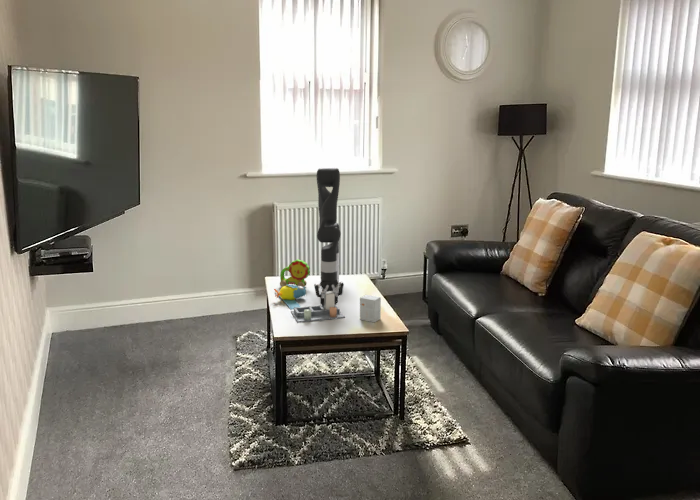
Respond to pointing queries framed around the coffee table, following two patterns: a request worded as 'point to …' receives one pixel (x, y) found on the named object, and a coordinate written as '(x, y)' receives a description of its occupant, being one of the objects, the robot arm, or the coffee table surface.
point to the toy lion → (295, 273)
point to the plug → (329, 300)
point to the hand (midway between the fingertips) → (329, 304)
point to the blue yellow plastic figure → (291, 295)
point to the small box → (370, 308)
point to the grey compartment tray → (316, 313)
